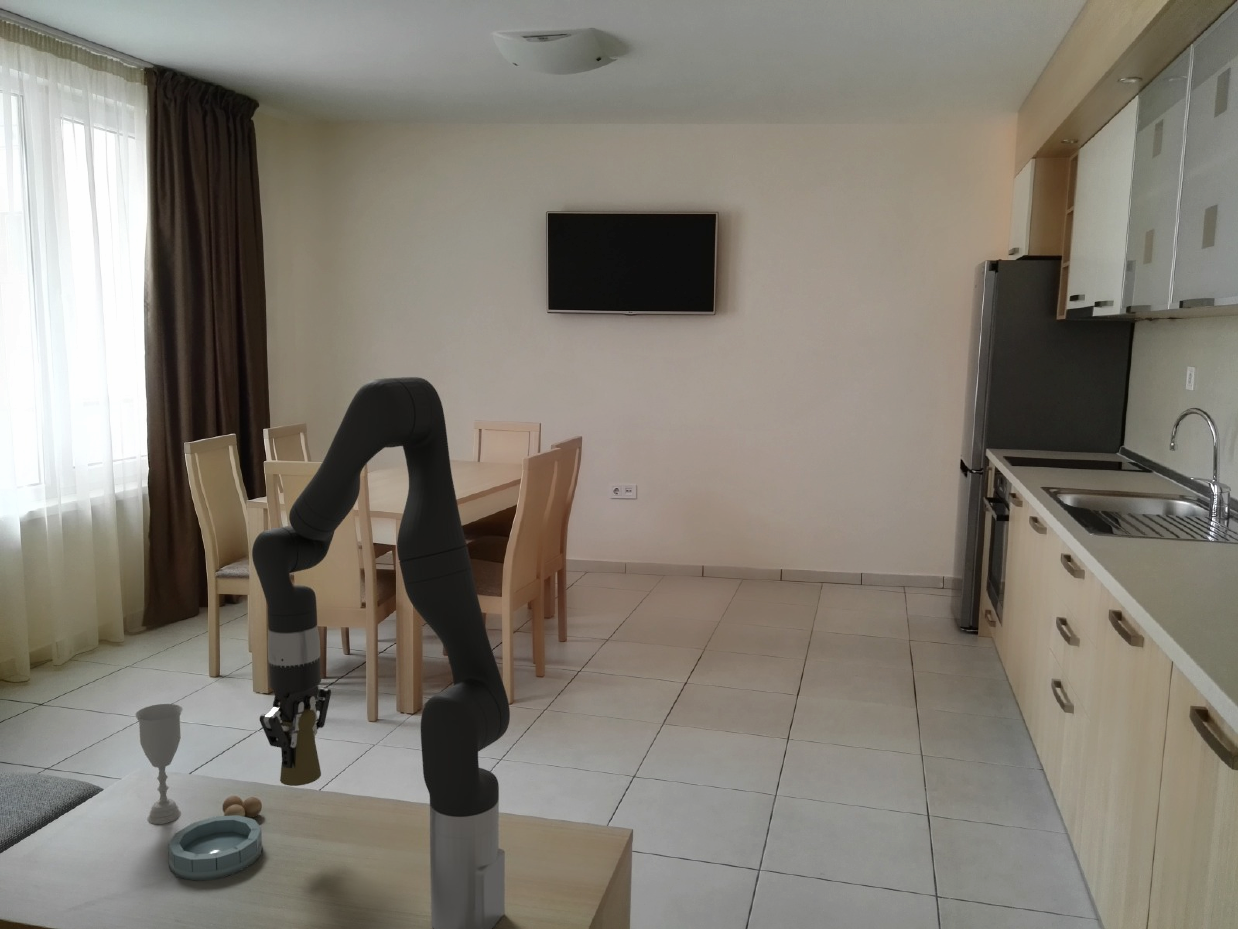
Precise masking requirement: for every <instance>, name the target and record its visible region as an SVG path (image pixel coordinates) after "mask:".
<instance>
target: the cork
mask: <svg viewBox="0 0 1238 929" xmlns="http://www.w3.org/2000/svg"><path fill="white" fill-rule="evenodd" d="M315 721H316V714H315V712H314V711H313V710H309V709H304V710H303V713H302V715H301V717H300V719H299V723H298V725H299V731H298V732H297V744H296V746H295V747H296V760H295V768H294V765H293V766H292V768H286V767H283V765H282V764H281V766H280V767H281V768H280V775H279V777H280V778H279V781H280V783H281V784H282V785H284V786H289V787H292V786H293V787H298V786H305V785H308V784H312V783H314V782H316V781H317V780H319V779H320V777H321V776H322V770H321V765H320V761H319V756H318V754H319V753H318V750H317V745H316V737H315V738H314V733H313V726H314V725H315ZM282 725H283V726H287V727H292V726H293V722H291V723H289V722H284V721H283V720H282ZM285 732H286V738H289V736H290V733H289V732H287V731H285Z"/></svg>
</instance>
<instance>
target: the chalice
mask: <svg viewBox="0 0 1238 929" xmlns="http://www.w3.org/2000/svg"><path fill="white" fill-rule="evenodd" d="M183 710H184V709H183V707H182V706H180V705H178V704H173V703H160V704H154V705H149V706H145V707H143V708H141V709H139V710H138V711H136V713H135V718H136V719H137V721H138V726H139V743H140V746H141V748H142V750H143V753H144V755H145V756H146V758H147V759H148V761H149V762H150V764H151V766H152V767H154V768H158V776H157V778H156V780H158V782H159V786H158V787H157V791H158V792H159V794H160V795H159V796H160V797H159V799H157V801H156V802H154V803H153V804H152V806H151V808H150V809H151V810H150V811H149V815H148V816H147V818H146V820H147V822H148V821H149V822H148V823H149V824H153V825H154V824H155V825H160V824H162V825H163V824H167V823H170V822H173V821H176V820H178V819H179V818H180V817H181V815H182V811H181V810H180V809H179V806H178V804H177V803H176V801H174V800H173V799H171V798H168V796H167V791H168V789H170V786H168V785H167V783H166V782H167V779H168V775H167V774H166V773H167V772H166V767H168V766H170V765H171V763H172V762H173V760H174V757H175V755H176V753H177V750H178V748H179V745H180V741H181V739H182V738H181V736H182V735H181V718H180V716H181V714H182V712H183Z"/></svg>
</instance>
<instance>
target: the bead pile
mask: <svg viewBox="0 0 1238 929" xmlns="http://www.w3.org/2000/svg"><path fill="white" fill-rule="evenodd" d="M262 807H263V804H262V801H261V800H260V799H259V798H258V797H255V796H251V797H248V798H245V799H244V801H243V799H241V797H239V796H238V795H237V796H236V795H232V796H229V797H227V798H226V799H225V800H224V801H223V803H222V812H223V816H233V815H237V816H238V815H239V816H243V817H247V818H251V819H253V818H255V817H257V816H258V815H260V813H261V811H262V809H263V808H262Z"/></svg>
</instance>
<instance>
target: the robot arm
mask: <svg viewBox="0 0 1238 929" xmlns="http://www.w3.org/2000/svg"><path fill="white" fill-rule="evenodd" d="M445 418H446V417H445V413H444V408H443V404H442V401H441V397H440V395H439V393H438V391H437V389H436V388H435V387H434V385H433V384H432V383H431V382H429V381H428V380H427V379H425V378H422V377H418V376H417V377H416V376H408V377H390V378H389V377H388V378H387V377H385V378H376V379H373V380H370V381H367V382H365V383H364V384H363V385H362V386H361V387H360V388H359V389H358V390H357V391H356V393H355V395H354V396H353V398H352V400H351V402H350V403H349V405H348V407H347V409H346V411H345V414H344V416H343V418H342V420H341V422H340V425H339V427H338V429H337V431H336V432H335V434H334V435H335V436H334V437H333V439H332V441H331V444H330V445H329V448H328V450H327V453H326V455H325V457H324V459H323V461H322V463H321V464H320V466H319V468H318V469H317V471H316V473H315V474H314V475H313V477H312V478H311V480H310V481H309V483H308V484H307V485H306V486H305V487H304V489H303V491H301V493H300V495H299V496H298V497H297V498H296V500H295V502H293V504H292V506H291V508H290V510H289V514H288V519H289V524H290V525H286V526H285V525H284V526H281V527H280V526H279V527H275V528H270V529H269V528H268V529H266V530H263V531H261V532H260V533H258V535H257V537H256V538H255V539H254V543H253V545H252V550H251V556H252V557H251V558H252V562H253V565H254V568H255V571H256V575H257V577H258V580H259V582H260V586H261V588H262V593H263V595H264V597H265V601H266V606H267V623H268V624H267V627H268V635H267V659H268V660H267V664H268V681H269V688H270V689H271V690H272V692H273V694H274V698H273V702H272V709H271V710H270V711H269V712H268V713H267V714H266V713H265V714H264V713H262V714H261V715H260V716H259V724H261V728H262V730H263V731H264V734H265V736H266V738H267V740H268V744H269V745H270V746H271V747H274V748H280V750H281V765H283V767H286V768H292V766H293V765H294V768H295V760H296V747H295V746H296V744H297V732H298V731H299V725H298V723H299V719H300V717H301V715H302V713H303V710H304V709H309V710H313V711H314V712H315V714H316V721H315V725H314V726H313V733H314V738H315V739H316V736H317V734H318V730H319V729H322V728H324V726H325V725H326V724H325V723H326V718H327V715H328V708H329V704H330V699H331V694H332V691H331V689H329V688H325V687H319V685H321V682H322V666H321V665H322V661H321V640H320V633H319V627H318V613H317V612H318V610H317V607H318V606H317V595H316V593H315V591H314V589H313V588H311V587H310V586H306V585H298V584H297V585H295V584H293V582H292V581H291V577H290V574H292V573H296V572H301V571H305V570H309V569H312V568H314V567H316V566H317V565H319V564H320V563H321V562H322V561H323V560H325V558H326V557H327V554H328V552H329V550H330V547H331V545H332V544H331V543H332V541H333V538H334V534H335V531H336V530H337V529H338V527H339V526H340V525H341V524H342V522H343V521H344V520H345V518H347V516H348V515H349V514H350V512H351V511H352V510H353V508H354V506H355V504H356V503H357V500H358V497H359V495H360V490H361V474H362V471H363V469H364V467H365V466H366V465H367V464H368V463H369V461H371V460H372V459H373V458H374V457H375V456H376V455H377V454H378V453H380V452H381V451H382V450H384V449H385V448H387V449H390V448H396V447H402V449H403V452H404V457H405V461H406V467H407V475H408V491H407V492H408V493H407V498H406V502H405V506H404V510H403V514H402V516H401V520H400V524H399V528H398V534H397V541H396V550H397V551H396V552H397V559H398V561H399V562H398V563H399V567H400V571H401V572H400V573H401V575H402V580H403V585H404V589H405V593H406V595H407V597H408V600H409V602H410V603H411V604H412V606H413V607H414V609H415V610H416V611H417V613H418V615H419V616H420V617H421V618H422V619H423V620H424V621H425V623H426V624H427V625H428V626H429V627H430V629H432V630H433V632H434V633H435V634H436V636H437V637H438V639H439V640H440V642H441V643H442V646H443V647H444V649H445V652H446V653H445V654H446V655H447V659H448V661H449V666H450V671H451V675H452V680H453V686H450V687H449V688H446V689H444V690H442V691H440V692H438V693H436V694H435V695H433V696H431V697H429V699H428V700H427V701H426V702H425V705H424V707H423V709H422V712H421V717H420V742H421V743H420V744H421V745H420V746H421V758H422V759H421V761H422V773H423V780H424V783H425V787H426V788H427V792H428V794H429V845H430V846H429V848H430V849H429V851H430V852H429V853H430V854H429V859H430V860H429V861H430V862H429V864H430V865H429V868H430V870H429V871H430V872H429V873H430V874H429V876H430V879H429V880H430V924H431V926H432V928H433V929H493V928H494V927H496V926H495V925H497V923H498V922H499V921H500V920H501V919H502V917H503V916H504V915H505V912H506V911H505V910H506V908H505V906H506V905H505V904H506V902H505V900H506V899H505V898H506V897H505V896H506V895H505V894H506V892H505V891H506V887H505V886H506V885H505V884H506V882H505V878H506V877H505V876H506V875H505V874H506V873H505V872H506V871H505V870H506V869H505V868H506V862H505V861H506V860H505V859H506V854H505V853H506V852H505V850H504V849H502V848H499V844H500V839H499V838H500V837H499V836H500V834H499V833H500V831H499V826H500V824H499V818H500V810H499V805H500V802H499V801H500V795H499V794H500V790H499V789H500V787H499V786H500V785H499V780H498V777H497V776H496V774H494V773H493V772H492V771H489V770H488V769H485V768H482V767H480V765H479V752H481V751H482V750H484V749H485V748H486V747H488V746H491V745H492V744H494V743H495V742H497V741H499V739H501V738H502V737H503V736H504V735H505V733H506V732H507V730H508V728H509V725H510V720H511V718H510V717H511V711H510V710H511V709H510V704H509V699H508V695H507V692H506V688H505V686H504V682H503V679H502V676H501V673H500V669H499V667H498V664H497V661H496V659H495V658H496V657H495V655H494V652H493V650H492V645H491V643H490V640H489V636H488V632H487V628H486V624H485V620H484V616H483V611H482V609H481V605H480V604H481V603H480V600H479V596H478V593H477V589H476V588H477V587H476V584H475V583H476V582H475V578H474V577H475V576H474V571H473V566H472V562H471V558H470V554H469V547H468V545H467V540H466V537H465V533H464V528H463V525H462V521H461V515H460V511H459V507H458V500H457V495H456V490H455V484H454V480H453V475H452V468H451V460H450V451H449V449H450V448H449V442H448V435H447V434H448V433H447V426H446V419H445ZM318 712H319V716H318V714H317V713H318ZM282 720H283V721H284V722H289V723H291V722H293V726H292V727H287V726H283V725H282ZM285 731H287V732H289V733H290V736H289V738H286V732H285Z"/></svg>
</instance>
